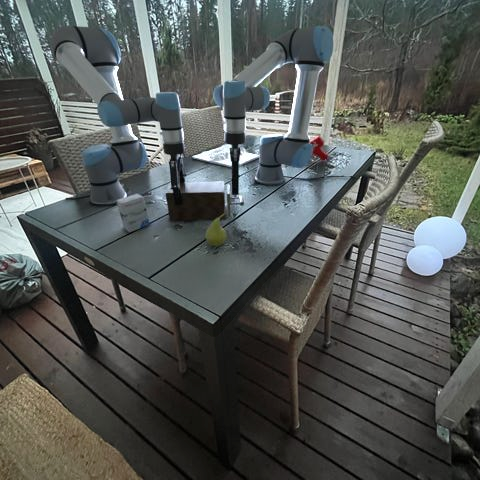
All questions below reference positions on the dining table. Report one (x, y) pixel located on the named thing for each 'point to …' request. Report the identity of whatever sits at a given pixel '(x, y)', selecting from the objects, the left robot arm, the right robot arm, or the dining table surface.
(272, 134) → the right robot arm
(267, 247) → the dining table surface
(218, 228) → the fruit
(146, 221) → the ink box
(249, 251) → the dining table surface
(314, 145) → the toy gun
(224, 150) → the relief map
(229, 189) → the drawer
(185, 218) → the cabinet
